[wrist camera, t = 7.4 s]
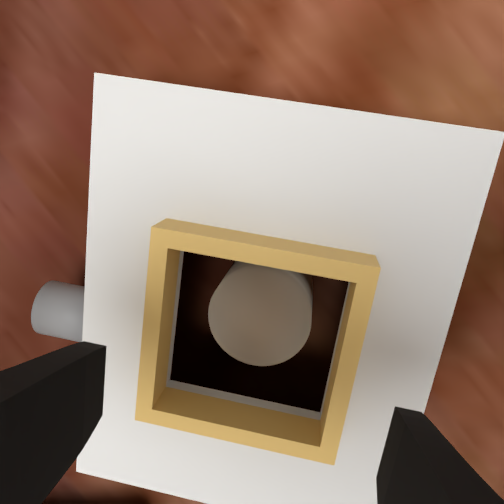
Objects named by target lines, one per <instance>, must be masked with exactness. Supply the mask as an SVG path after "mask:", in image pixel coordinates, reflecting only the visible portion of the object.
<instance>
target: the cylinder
mask: <svg viewBox="0 0 504 504" xmlns="http://www.w3.org/2000/svg"><path fill="white" fill-rule="evenodd" d="M312 303H313V278H312V275H310V274H305V273H299V272H294V271H289V270H283V269H278V268H272V267H267V266H262V265H256V264H251V263H245V262H240V261H235V262H234V263H233V265H232V266H231V268H230V269H229V271H228V272H227V274H226V275H225V277H224V278H223V280H222V281H221V283H220V284H219V286H218V287H217V289H216V290H215V292H214V294H213V296H212V298H211V301H210V304H209V309H208V320H209V326H210V329H211V332H212V334H213V336H214V338H215V340H216V341H217V343H218V344H219V346H220V347H221V348H222V349H223V350H224V351H225V352H226V353H227V354H229V355H230V356H232V357H233V358H235V359H237V360H239V361H241V362H243V363H246V364H250V365H256V366H270V365H275V364H279V363H282V362H284V361H286V360H288V359H290V358H291V357H293V356H294V355H296V354H297V353H298V352H299V351H300V350H301V348H302V347H303V346H304V344H305V343H306V341H307V339H308V336H309V334H310V330H311V323H312Z"/></svg>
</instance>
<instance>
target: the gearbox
mask: <svg viewBox="0 0 504 504" xmlns="http://www.w3.org/2000/svg"><path fill="white" fill-rule="evenodd" d="M503 140H504V132H501V131H494V130H487V129H480V128H473V127H466V126H460V125H453V124H446V123H439V122H432V121H425V120H418V119H411V118H404V117H397V116H391V115H384V114H377V113H370V112H363V111H356V110H349V109H342V108H335V107H328V106H321V105H315V104H308V103H301V102H294V101H287V100H280V99H273V98H266V97H259V96H252V95H246V94H239V93H232V92H225V91H218V90H211V89H204V88H197V87H190V86H183V85H177V84H170V83H163V82H156V81H149V80H142V79H135V78H128V77H121V76H114V75H108V74H101V73H94V91H93V113H92V135H91V157H90V179H89V201H88V223H87V245H86V267H85V287H84V286H79V285H74V284H69V283H64V282H59V281H49V282H47V283H46V284H45V285H44V286H43V287H42V288H41V289H40V291H39V292H38V294H37V296H36V298H35V300H34V303H33V307H32V312H31V323H32V327H33V329H34V330H35V332H37V333H40V334H44V335H49V336H54V337H59V338H63V339H68V340H73V341H77V342H83V341H86V342H90V343H95V344H100V345H105V346H107V347H106V364H105V382H104V399H103V415H102V417H101V419H100V421H99V422H98V424H97V426H96V428H95V430H94V431H93V433H92V435H91V437H90V438H89V440H88V442H87V443H86V445H85V447H84V448H83V450H82V451H81V453H80V454H79V455H78V457H77V466H76V472H80V473H84V474H88V475H92V476H97V477H101V478H105V479H109V480H113V481H117V482H121V483H125V484H129V485H133V486H137V487H142V488H146V489H150V490H154V491H158V492H162V493H166V494H170V495H174V496H178V497H182V498H186V499H191V500H195V501H199V502H203V503H207V504H377V485H376V476H377V472H378V469H379V465H380V461H381V457H382V453H383V450H384V446H385V442H386V438H387V435H388V431H389V427H390V423H391V419H392V416H393V412H394V408H395V406H396V407H401V408H405V409H410V410H415V411H420V412H422V413H423V414H424V411H425V408H426V404H427V401H428V397H429V394H430V390H431V387H432V384H433V380H434V377H435V373H436V370H437V366H438V363H439V360H440V356H441V353H442V349H443V346H444V342H445V339H446V336H447V332H448V329H449V325H450V322H451V318H452V315H453V312H454V308H455V305H456V301H457V298H458V294H459V291H460V288H461V284H462V281H463V277H464V274H465V270H466V267H467V263H468V260H469V257H470V253H471V250H472V246H473V243H474V239H475V236H476V233H477V229H478V226H479V222H480V219H481V215H482V212H483V209H484V205H485V202H486V198H487V195H488V191H489V188H490V185H491V181H492V178H493V174H494V171H495V167H496V164H497V160H498V157H499V154H500V150H501V147H502V143H503ZM184 251H186V252H191V253H197V254H202V255H208V256H213V257H218V258H224V259H229V260H235V261H240V262H245V263H251V264H256V265H262V266H267V267H272V268H278V269H283V270H289V271H294V272H299V273H305V274H310V275H316V276H321V277H326V278H332V279H337V280H343V281H348V282H349V283H348V287H347V292H346V296H345V301H344V306H343V310H342V315H341V319H340V324H339V329H338V333H337V338H336V342H335V347H334V352H333V356H332V361H331V365H330V370H329V375H328V379H327V384H326V388H325V393H324V398H323V402H322V407H321V411H320V412H316V411H312V410H307V409H302V408H298V407H293V406H289V405H284V404H279V403H275V402H270V401H266V400H261V399H256V398H252V397H247V396H243V395H238V394H233V393H229V392H224V391H219V390H215V389H210V388H206V387H201V386H196V385H192V384H187V383H183V382H178V381H173V380H170V376H171V367H172V357H173V348H174V339H175V330H176V320H177V311H178V302H179V292H180V283H181V274H182V265H183V255H184Z"/></svg>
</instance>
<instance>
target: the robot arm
mask: <svg viewBox="0 0 504 504" xmlns="http://www.w3.org/2000/svg"><path fill="white" fill-rule="evenodd" d="M106 347H107V346H105V345H100V344H95V343H90V342H86V341H83V342H79V343H76V344H73V345H70V346H67V347H64V348H61V349H59V350H56V351H53V352H51V353H48V354H45V355H43V356H40V357H37V358H35V359H32V360H30V361H27V362H24V363H22V364H19V365H16V366H14V367H11V368H8V369H5V370H3V371H0V504H41V503H42V502H43V501H44V500H45V498H46V497H47V496H48V494H49V493H50V492H51V491H52V489H53V488H54V487H55V485H56V484H57V483H58V482H59V480H60V479H61V478H62V476H63V475H64V474H65V472H66V471H67V470H68V468H69V467H70V466H71V465H72V463H73V462H74V461H75V459H76V458H77V457H78V455H79V454H80V453H81V451H82V450H83V448H84V447H85V445H86V443H87V442H88V440H89V438H90V437H91V435H92V433H93V431H94V430H95V428H96V426H97V424H98V422H99V421H100V419H101V417H102V415H103V399H104V382H105V364H106ZM376 485H377V504H504V500H503V499H502V498H501V497H500V496H499V495H498V494H497V493H496V492H495V491H494V490H493V489H492V488H491V487H490V486H489V485H488V484H487V483H486V482H485V481H484V480H483V479H482V478H481V477H480V476H479V475H478V474H477V473H476V471H475V470H474V469H473V468H472V467H471V466H470V465H469V464H468V463H467V462H466V461H465V460H464V458H463V457H462V456H461V455H460V454H459V453H458V452H457V451H456V449H455V448H454V447H453V446H452V445H451V444H450V443H449V442H448V440H447V439H446V438H445V437H444V436H443V435H442V434H441V432H440V431H439V430H438V429H437V428H436V427H435V426H434V425H433V423H432V422H431V421H430V420H429V419H428V418H427V417H426V416H425V415H424V414H423V413H422V412H420V411H415V410H410V409H405V408H401V407H396V406H395V408H394V412H393V416H392V419H391V423H390V427H389V431H388V435H387V438H386V442H385V446H384V450H383V453H382V457H381V461H380V465H379V469H378V472H377V476H376Z"/></svg>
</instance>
